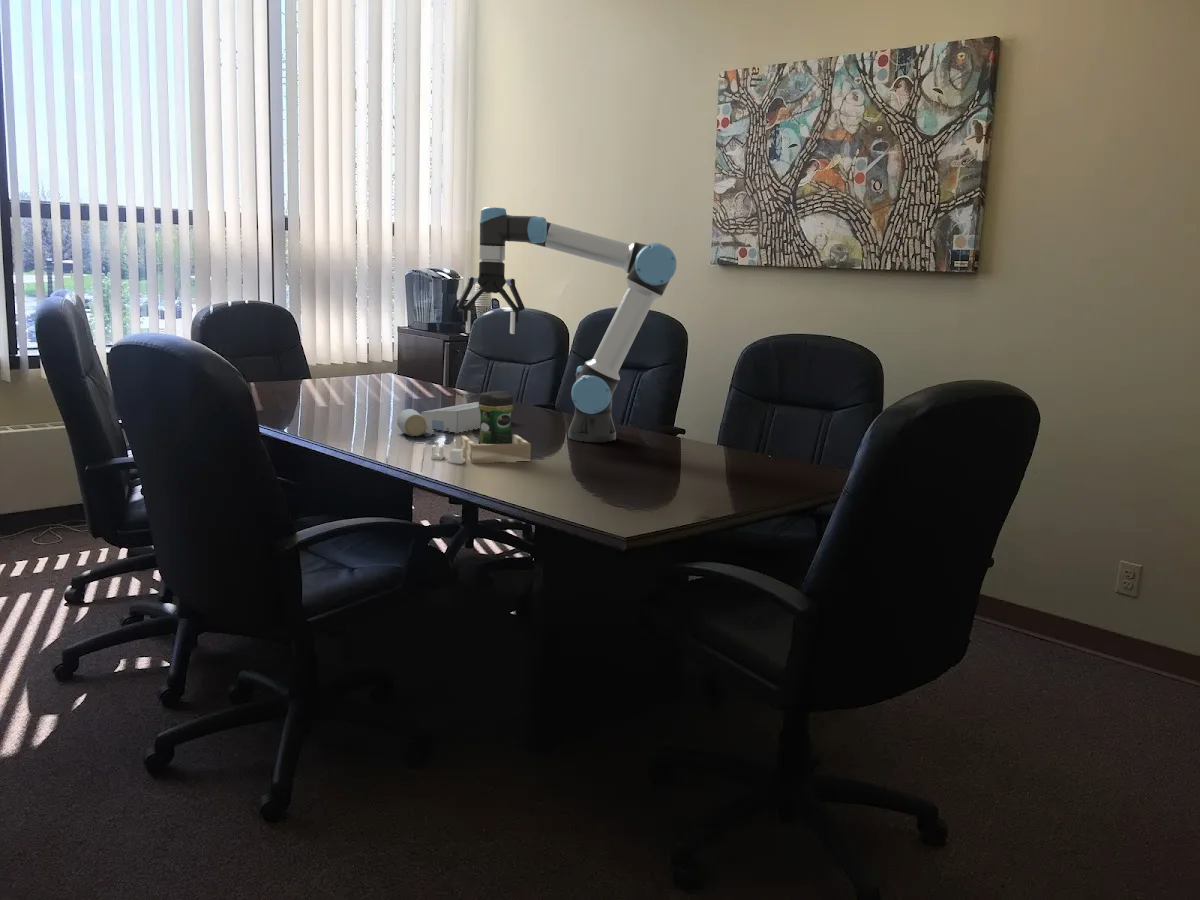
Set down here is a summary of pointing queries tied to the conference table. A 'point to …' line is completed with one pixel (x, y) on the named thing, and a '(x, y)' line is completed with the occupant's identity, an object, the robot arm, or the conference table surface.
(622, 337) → the robot arm
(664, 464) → the conference table surface
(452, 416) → the white bar
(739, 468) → the conference table surface
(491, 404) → the coffee jar
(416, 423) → the ceramic mug
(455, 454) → the cable clips
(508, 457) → the wooden u-shaped piece
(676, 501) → the conference table surface
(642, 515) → the conference table surface
